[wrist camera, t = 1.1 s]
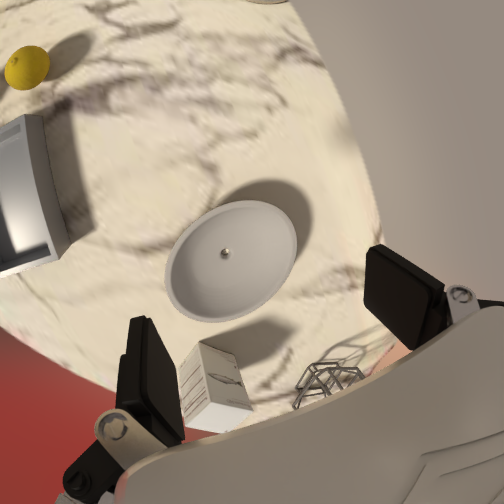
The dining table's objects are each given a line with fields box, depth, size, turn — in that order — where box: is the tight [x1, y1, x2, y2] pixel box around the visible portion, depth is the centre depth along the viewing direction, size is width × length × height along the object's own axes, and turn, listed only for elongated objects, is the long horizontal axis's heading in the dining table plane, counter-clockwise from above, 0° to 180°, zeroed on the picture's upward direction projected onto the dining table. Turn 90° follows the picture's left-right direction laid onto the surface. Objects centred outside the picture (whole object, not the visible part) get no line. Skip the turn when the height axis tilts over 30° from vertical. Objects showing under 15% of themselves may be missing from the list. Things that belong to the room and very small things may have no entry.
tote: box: [0, 114, 71, 278], centre depth 23 cm, size 18×14×5 cm
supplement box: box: [179, 342, 253, 434], centre depth 38 cm, size 7×7×13 cm
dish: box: [165, 200, 297, 323], centre depth 35 cm, size 18×14×5 cm
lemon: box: [5, 46, 50, 90], centre depth 16 cm, size 6×6×8 cm
